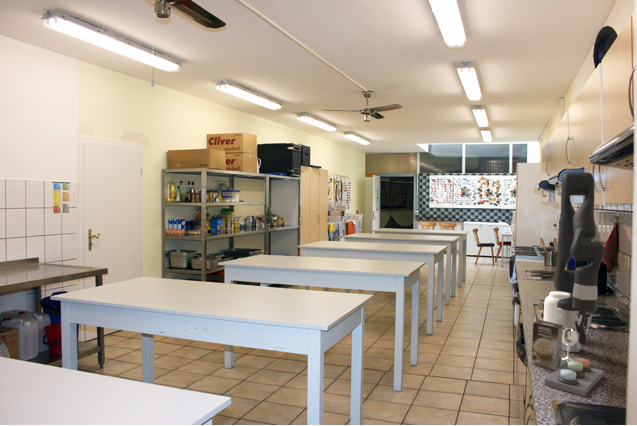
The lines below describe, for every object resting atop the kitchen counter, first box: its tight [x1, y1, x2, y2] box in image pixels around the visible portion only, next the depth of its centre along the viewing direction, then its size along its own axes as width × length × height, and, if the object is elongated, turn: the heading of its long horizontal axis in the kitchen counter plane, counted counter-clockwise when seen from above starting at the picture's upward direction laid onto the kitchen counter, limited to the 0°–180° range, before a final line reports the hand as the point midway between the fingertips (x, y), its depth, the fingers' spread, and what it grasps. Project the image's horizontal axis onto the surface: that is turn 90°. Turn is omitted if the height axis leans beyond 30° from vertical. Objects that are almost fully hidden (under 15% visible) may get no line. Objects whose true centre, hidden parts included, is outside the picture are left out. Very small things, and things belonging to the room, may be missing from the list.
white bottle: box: [543, 290, 571, 323], centre depth 209 cm, size 12×12×20 cm
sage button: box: [567, 361, 583, 371], centre depth 157 cm, size 5×5×2 cm
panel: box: [544, 361, 604, 397], centre depth 157 cm, size 24×12×3 cm, turn 135°
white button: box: [560, 369, 576, 381], centre depth 151 cm, size 5×5×2 cm
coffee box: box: [530, 319, 563, 371], centre depth 171 cm, size 9×6×16 cm
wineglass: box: [561, 328, 577, 362], centre depth 177 cm, size 6×6×12 cm
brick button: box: [573, 357, 590, 368], centre depth 163 cm, size 5×5×2 cm
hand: (582, 343), depth 163 cm, fingers closed
